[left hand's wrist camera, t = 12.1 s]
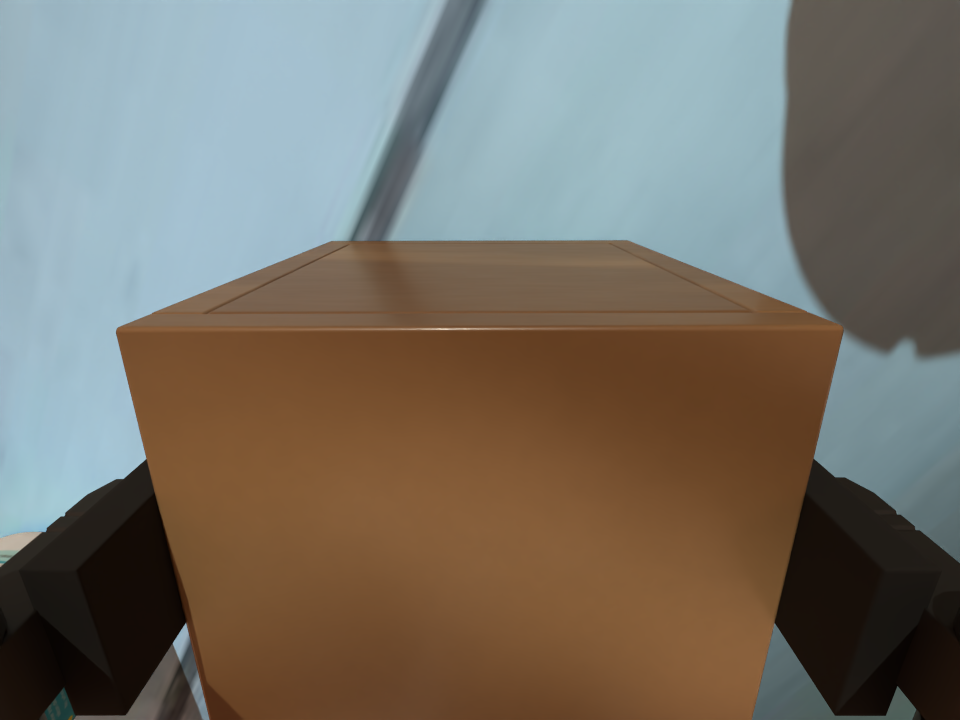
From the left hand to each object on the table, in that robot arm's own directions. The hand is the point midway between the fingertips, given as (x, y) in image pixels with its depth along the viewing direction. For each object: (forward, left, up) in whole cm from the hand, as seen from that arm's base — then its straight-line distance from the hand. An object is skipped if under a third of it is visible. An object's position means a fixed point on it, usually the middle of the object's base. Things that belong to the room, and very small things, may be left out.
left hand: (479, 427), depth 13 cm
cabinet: (+4, -3, -6) cm, 8 cm away
